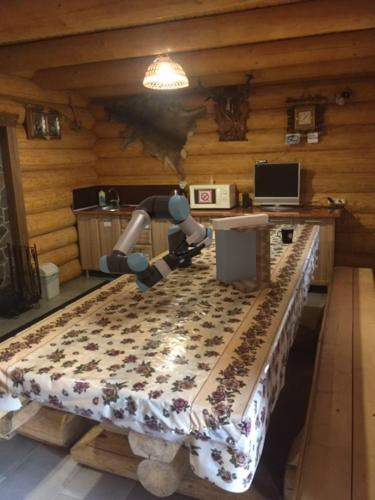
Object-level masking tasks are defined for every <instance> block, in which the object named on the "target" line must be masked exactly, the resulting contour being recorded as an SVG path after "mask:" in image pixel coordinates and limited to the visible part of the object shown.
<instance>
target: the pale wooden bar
mask: <svg viewBox="0 0 375 500" xmlns="http://www.w3.org/2000/svg"><path fill="white" fill-rule="evenodd" d="M211 220H212V222H211V223H212V229H214V230H215V229H216V230H219V229H227V228H236V227H244V226H252V225H260V224H268V222H269V214H266V213H257V214H255V213H254V214H248V215H240V216H237V215H236V216H230V217H222V218H214V219H211Z"/></svg>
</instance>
